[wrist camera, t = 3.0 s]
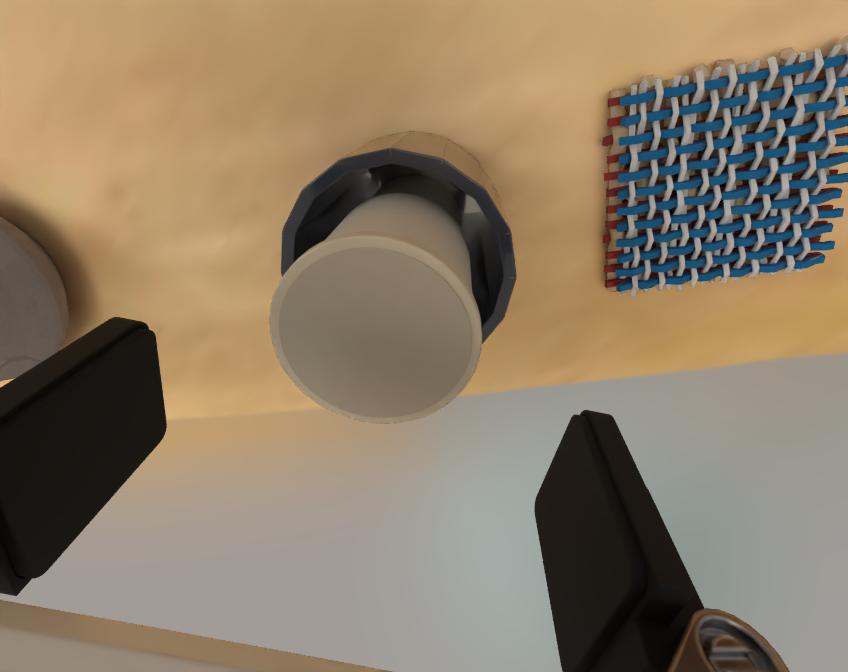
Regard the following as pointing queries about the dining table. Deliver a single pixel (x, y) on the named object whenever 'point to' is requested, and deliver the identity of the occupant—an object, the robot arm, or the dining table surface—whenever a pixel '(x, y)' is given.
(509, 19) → the dining table surface
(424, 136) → the mug
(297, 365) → the paper cup
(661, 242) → the woven mat
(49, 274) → the coffee pot
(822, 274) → the dining table surface
